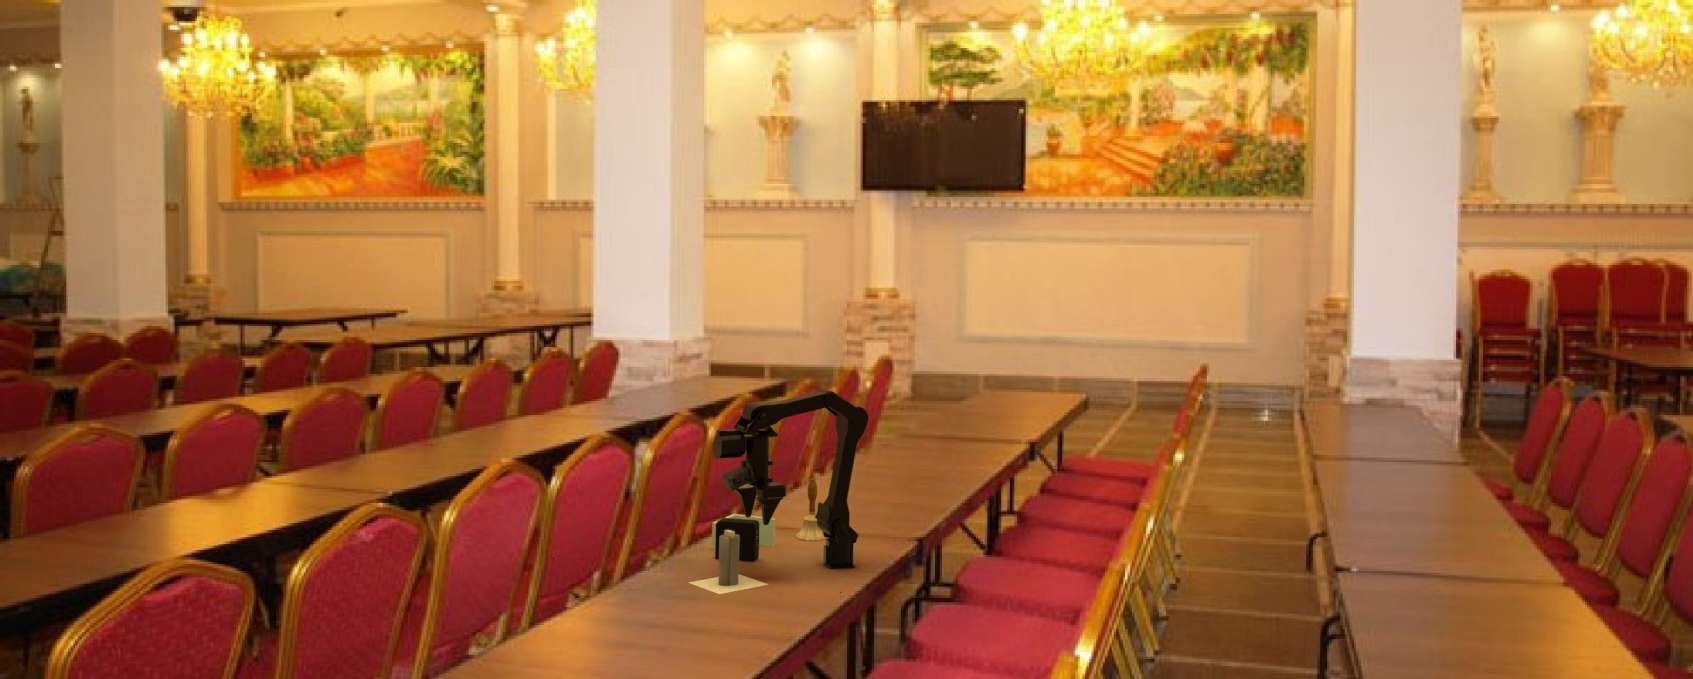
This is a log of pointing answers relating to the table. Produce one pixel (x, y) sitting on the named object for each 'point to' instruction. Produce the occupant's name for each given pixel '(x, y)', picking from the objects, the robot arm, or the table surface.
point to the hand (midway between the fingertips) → (756, 520)
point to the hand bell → (811, 518)
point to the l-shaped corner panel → (764, 530)
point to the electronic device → (747, 537)
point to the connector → (728, 558)
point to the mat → (715, 587)
